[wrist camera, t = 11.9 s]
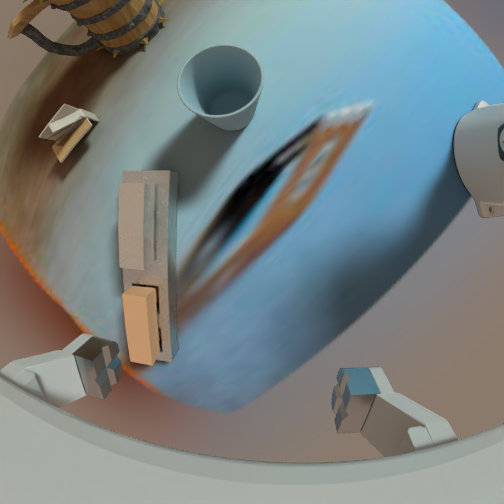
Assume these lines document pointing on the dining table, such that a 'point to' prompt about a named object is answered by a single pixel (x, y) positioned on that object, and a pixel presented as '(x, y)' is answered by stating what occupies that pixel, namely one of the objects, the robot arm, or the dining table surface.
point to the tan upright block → (142, 323)
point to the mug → (97, 24)
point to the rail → (161, 256)
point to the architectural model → (67, 129)
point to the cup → (222, 85)
